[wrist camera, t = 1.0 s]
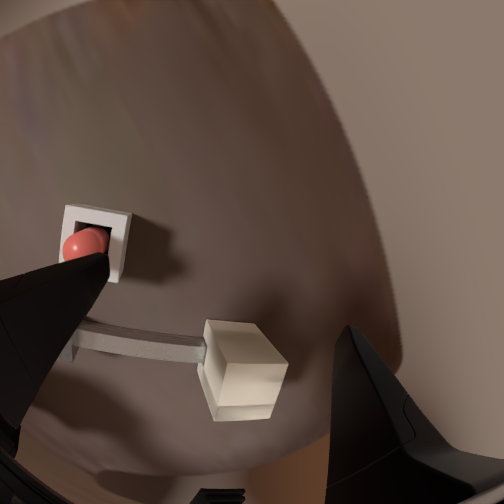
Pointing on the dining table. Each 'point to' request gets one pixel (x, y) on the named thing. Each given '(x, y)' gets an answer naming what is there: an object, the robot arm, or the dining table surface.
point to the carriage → (240, 371)
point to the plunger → (86, 243)
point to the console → (118, 220)
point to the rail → (134, 343)
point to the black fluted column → (219, 496)
